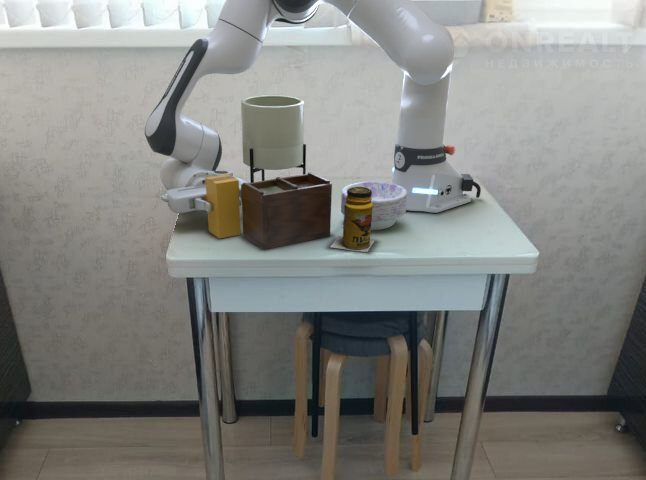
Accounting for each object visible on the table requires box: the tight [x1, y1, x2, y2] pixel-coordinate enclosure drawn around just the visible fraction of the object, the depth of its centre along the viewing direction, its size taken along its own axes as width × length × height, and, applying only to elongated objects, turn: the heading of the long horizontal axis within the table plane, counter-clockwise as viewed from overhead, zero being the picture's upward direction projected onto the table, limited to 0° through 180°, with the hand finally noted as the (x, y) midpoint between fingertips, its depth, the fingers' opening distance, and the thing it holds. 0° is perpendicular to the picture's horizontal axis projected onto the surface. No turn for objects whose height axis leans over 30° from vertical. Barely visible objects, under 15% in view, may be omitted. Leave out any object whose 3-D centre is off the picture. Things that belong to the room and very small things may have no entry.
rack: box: [241, 171, 333, 250], centre depth 155 cm, size 17×10×12 cm, turn 121°
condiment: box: [329, 187, 375, 253], centre depth 151 cm, size 7×8×12 cm
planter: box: [240, 94, 307, 183], centre depth 174 cm, size 15×16×23 cm
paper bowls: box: [340, 181, 407, 231], centre depth 163 cm, size 15×15×8 cm
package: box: [205, 174, 242, 239], centre depth 156 cm, size 6×6×12 cm
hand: (225, 205), depth 155 cm, fingers closed on package, 5 cm apart
